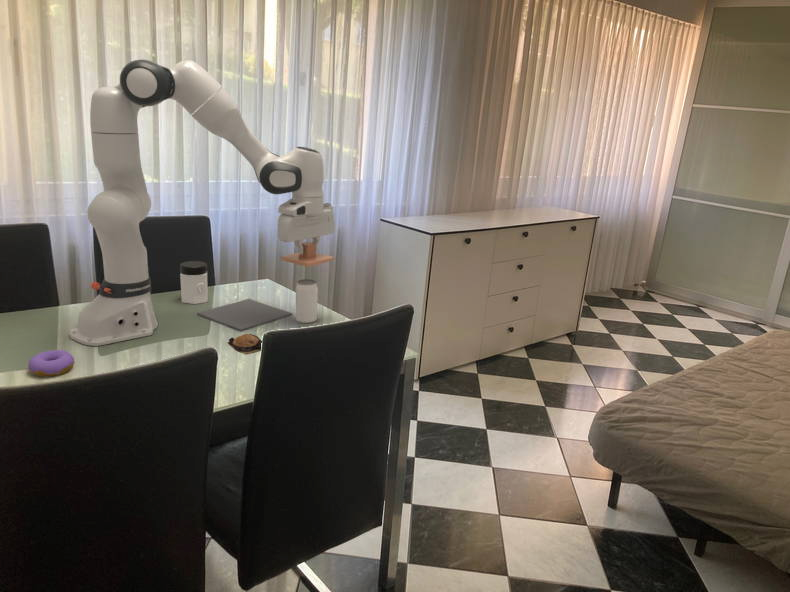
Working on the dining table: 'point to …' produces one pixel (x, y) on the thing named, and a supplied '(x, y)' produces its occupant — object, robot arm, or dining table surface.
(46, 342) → the dining table surface
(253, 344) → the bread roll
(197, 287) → the jar
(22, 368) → the dining table surface
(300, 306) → the can
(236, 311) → the mat
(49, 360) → the donut
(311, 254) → the lid
